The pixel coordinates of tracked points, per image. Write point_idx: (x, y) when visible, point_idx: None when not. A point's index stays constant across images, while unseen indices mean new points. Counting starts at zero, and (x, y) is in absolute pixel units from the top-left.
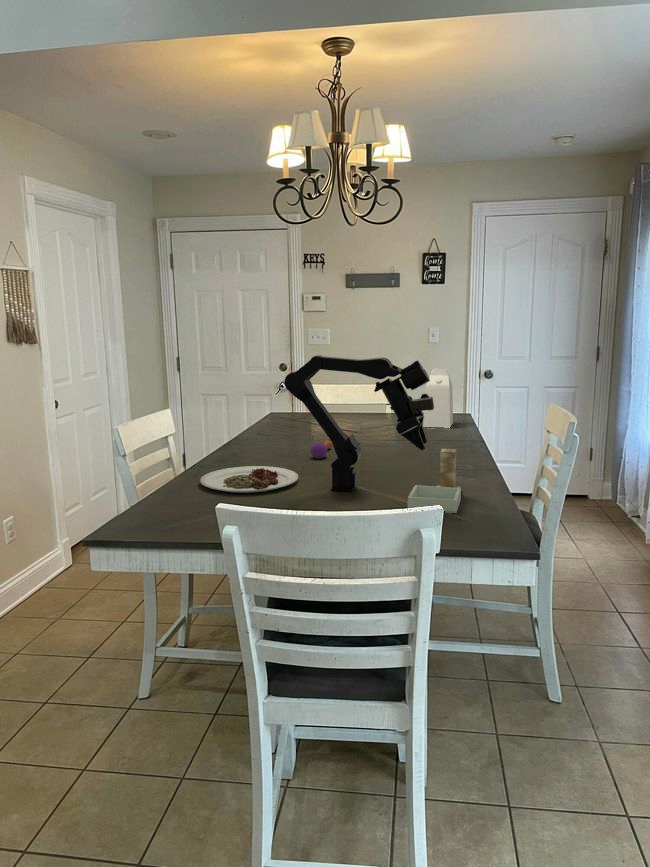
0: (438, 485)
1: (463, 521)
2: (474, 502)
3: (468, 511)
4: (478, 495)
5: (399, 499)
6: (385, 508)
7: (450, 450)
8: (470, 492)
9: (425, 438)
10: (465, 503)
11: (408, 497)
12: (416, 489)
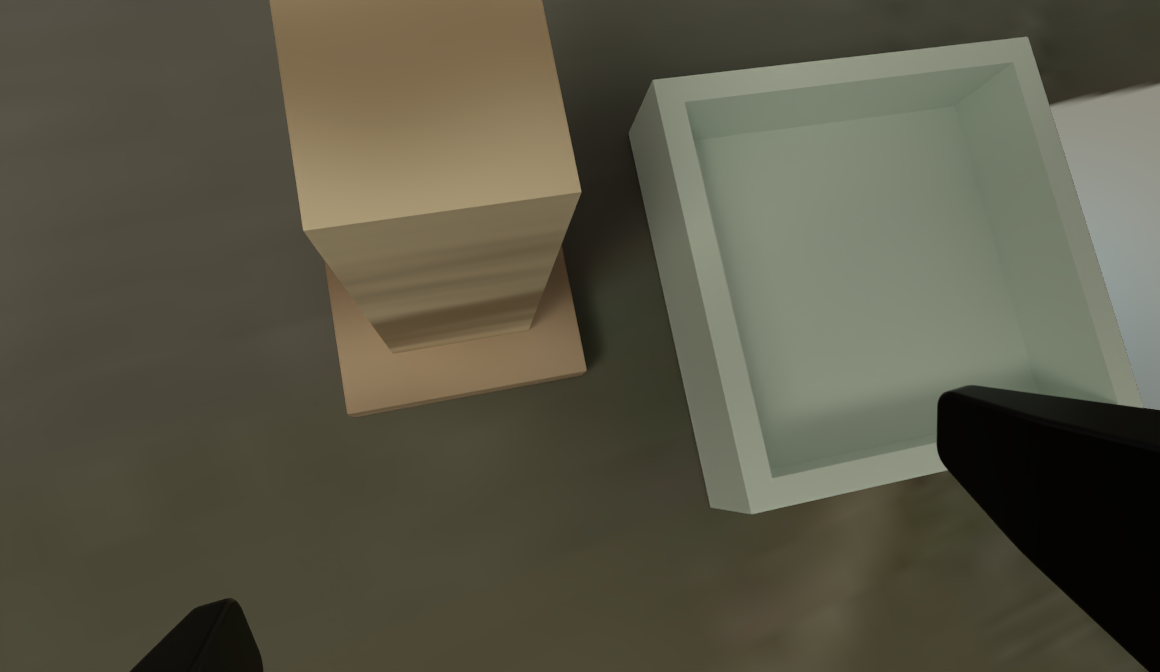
0: (354, 393)
1: (1071, 20)
2: (630, 29)
3: (863, 29)
4: None
5: (831, 609)
6: None
7: (411, 49)
8: None
9: (210, 661)
10: None
11: None
12: (829, 463)
